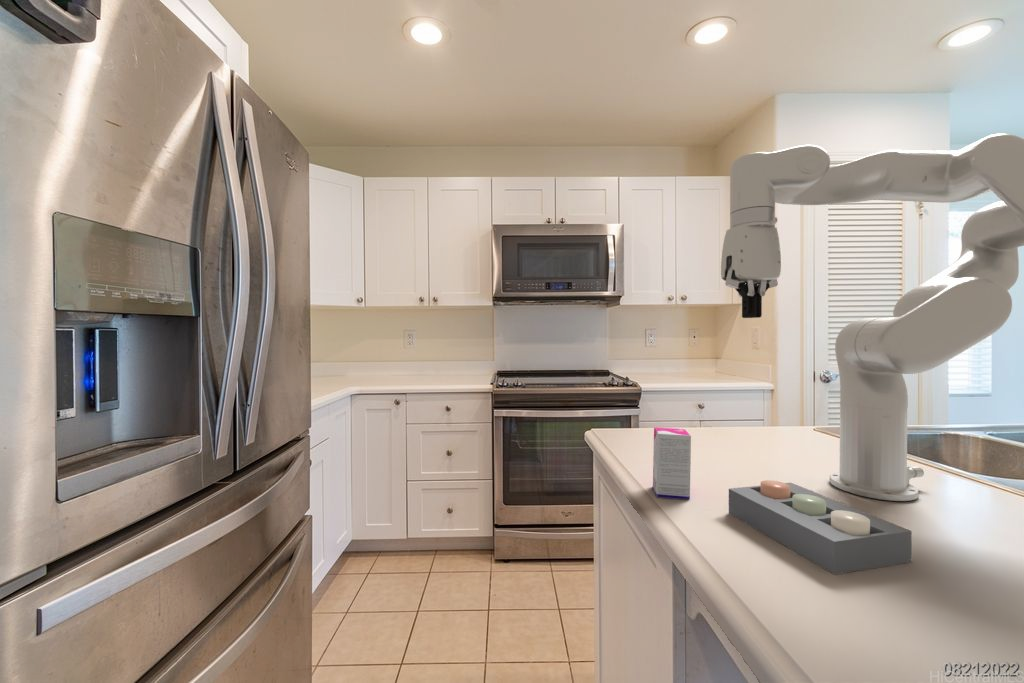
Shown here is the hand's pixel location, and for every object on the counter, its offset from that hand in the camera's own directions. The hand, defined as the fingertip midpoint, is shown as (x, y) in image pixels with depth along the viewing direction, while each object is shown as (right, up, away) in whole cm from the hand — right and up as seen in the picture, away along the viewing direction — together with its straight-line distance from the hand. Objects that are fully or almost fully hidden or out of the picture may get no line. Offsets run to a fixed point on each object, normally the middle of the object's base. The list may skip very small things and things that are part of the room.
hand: (751, 317), depth 82 cm
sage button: (-3, -31, -21) cm, 38 cm away
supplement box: (-17, -33, -4) cm, 37 cm away
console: (-3, -33, -21) cm, 39 cm away
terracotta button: (-5, -31, -15) cm, 35 cm away
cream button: (-2, -32, -26) cm, 41 cm away
